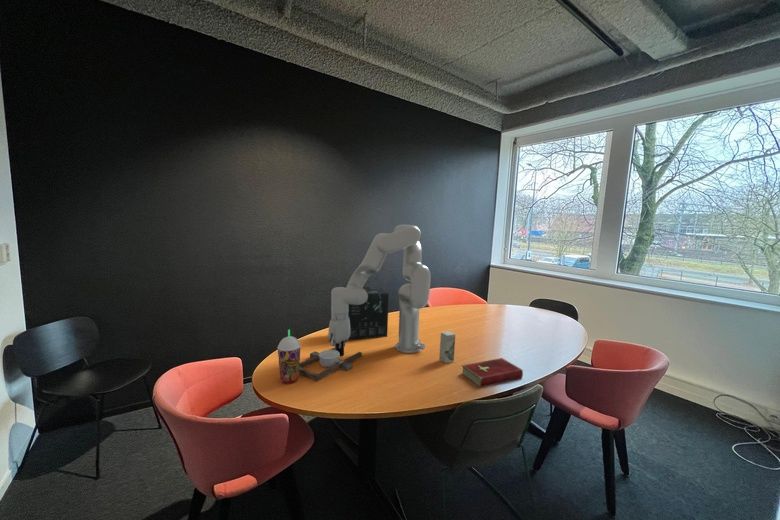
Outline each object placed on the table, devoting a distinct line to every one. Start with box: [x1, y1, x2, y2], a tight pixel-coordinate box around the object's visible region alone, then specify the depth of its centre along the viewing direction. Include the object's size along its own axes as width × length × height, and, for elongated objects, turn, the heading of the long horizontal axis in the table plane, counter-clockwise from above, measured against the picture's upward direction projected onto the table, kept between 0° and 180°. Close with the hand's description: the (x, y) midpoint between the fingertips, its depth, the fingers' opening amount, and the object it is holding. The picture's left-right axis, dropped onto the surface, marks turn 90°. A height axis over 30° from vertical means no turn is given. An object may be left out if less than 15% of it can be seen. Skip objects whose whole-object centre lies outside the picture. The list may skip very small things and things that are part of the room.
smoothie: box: [277, 329, 302, 384], centre depth 121 cm, size 8×8×20 cm
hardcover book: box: [461, 357, 524, 388], centre depth 130 cm, size 12×21×4 cm, turn 113°
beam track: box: [299, 346, 363, 382], centre depth 137 cm, size 22×28×2 cm
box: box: [438, 330, 456, 364], centre depth 142 cm, size 5×4×13 cm
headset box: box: [347, 286, 390, 341], centre depth 171 cm, size 22×12×26 cm, turn 111°
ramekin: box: [318, 349, 340, 368], centre depth 137 cm, size 9×9×4 cm
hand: (340, 355), depth 143 cm, fingers closed
